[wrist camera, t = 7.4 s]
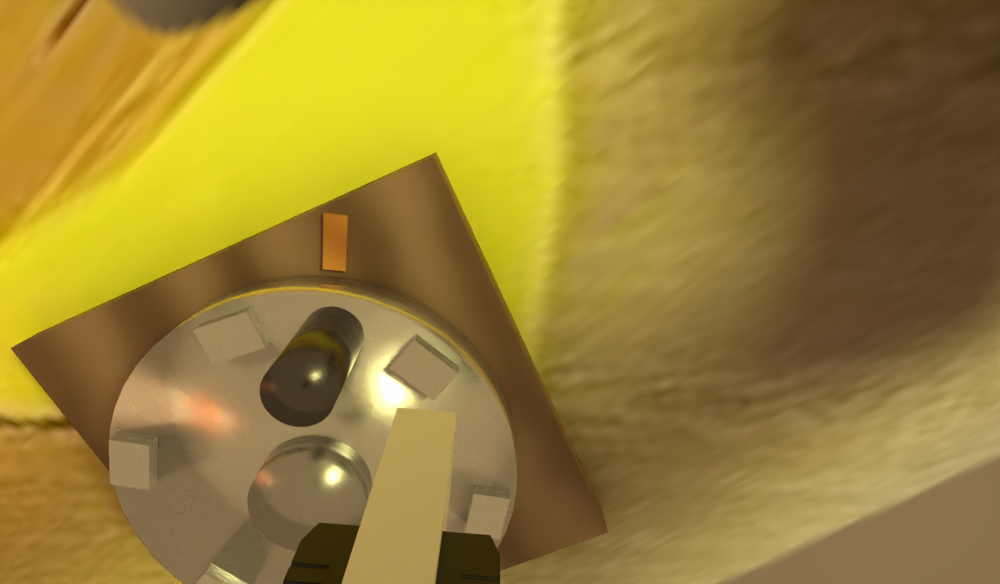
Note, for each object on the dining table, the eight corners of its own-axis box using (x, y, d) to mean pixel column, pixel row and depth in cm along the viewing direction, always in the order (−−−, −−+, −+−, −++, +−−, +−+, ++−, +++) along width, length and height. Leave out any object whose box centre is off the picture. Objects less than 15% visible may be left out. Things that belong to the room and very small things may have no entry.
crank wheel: (478, 611, 39) (476, 755, 31) (140, 567, 38) (40, 708, 29) (551, 313, 32) (574, 395, 24) (138, 240, 30) (4, 301, 22)
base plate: (436, 152, 31) (432, 157, 29) (601, 510, 40) (608, 535, 38) (36, 333, 34) (6, 350, 32) (268, 632, 43) (256, 661, 41)
